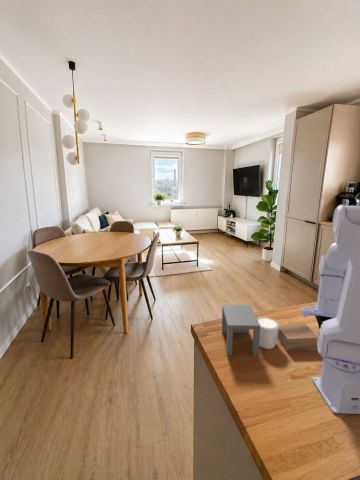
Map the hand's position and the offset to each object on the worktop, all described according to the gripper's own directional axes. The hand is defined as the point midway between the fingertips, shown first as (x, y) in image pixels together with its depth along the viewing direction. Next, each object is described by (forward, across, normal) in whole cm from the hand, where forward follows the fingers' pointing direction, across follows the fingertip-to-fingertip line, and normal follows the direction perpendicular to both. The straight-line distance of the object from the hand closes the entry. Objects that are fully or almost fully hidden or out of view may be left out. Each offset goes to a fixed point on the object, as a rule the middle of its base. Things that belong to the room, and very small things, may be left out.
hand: (323, 336), depth 72 cm
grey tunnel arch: (+2, +26, 0) cm, 26 cm away
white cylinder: (+3, +18, 0) cm, 18 cm away
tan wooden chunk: (+3, +8, 0) cm, 9 cm away
